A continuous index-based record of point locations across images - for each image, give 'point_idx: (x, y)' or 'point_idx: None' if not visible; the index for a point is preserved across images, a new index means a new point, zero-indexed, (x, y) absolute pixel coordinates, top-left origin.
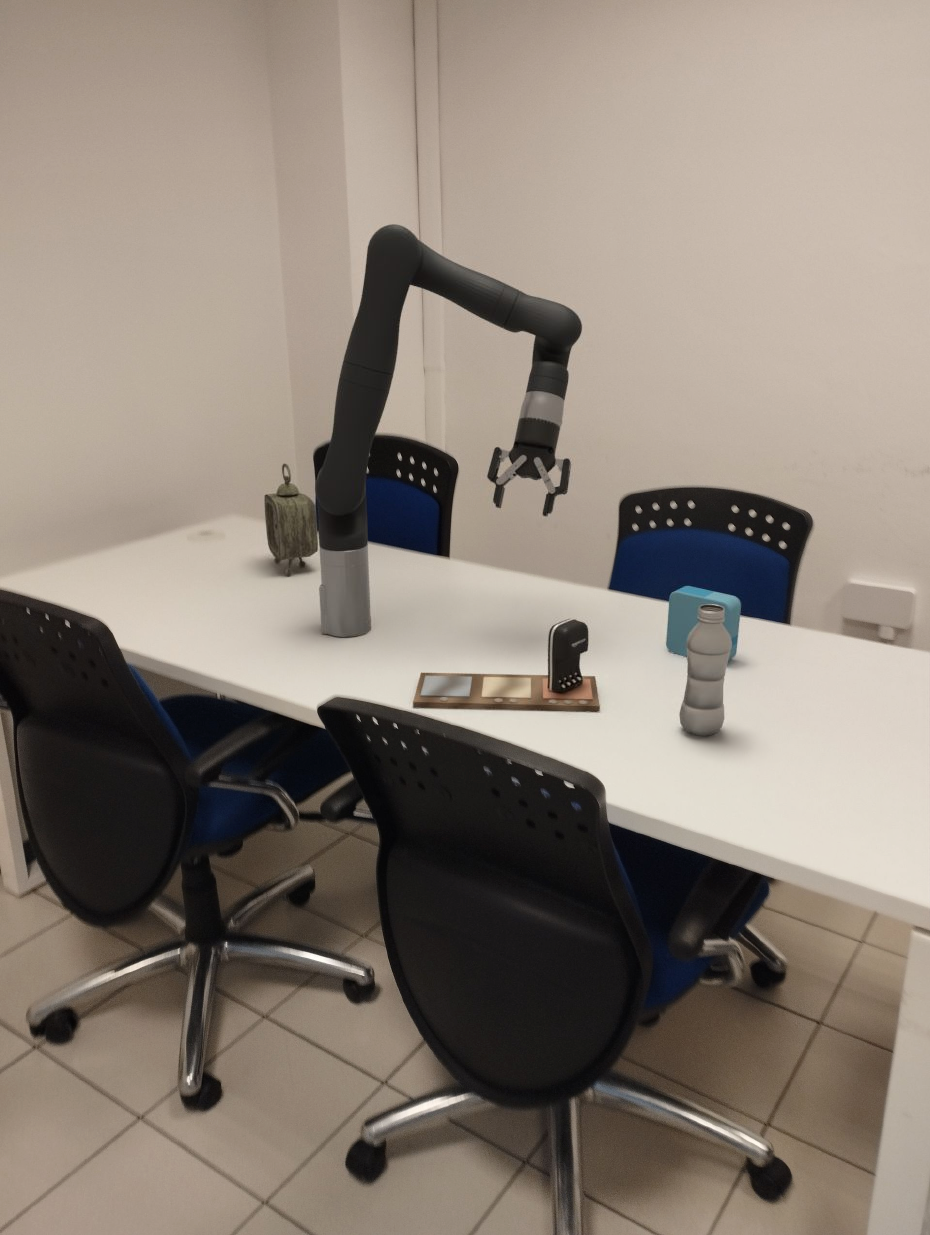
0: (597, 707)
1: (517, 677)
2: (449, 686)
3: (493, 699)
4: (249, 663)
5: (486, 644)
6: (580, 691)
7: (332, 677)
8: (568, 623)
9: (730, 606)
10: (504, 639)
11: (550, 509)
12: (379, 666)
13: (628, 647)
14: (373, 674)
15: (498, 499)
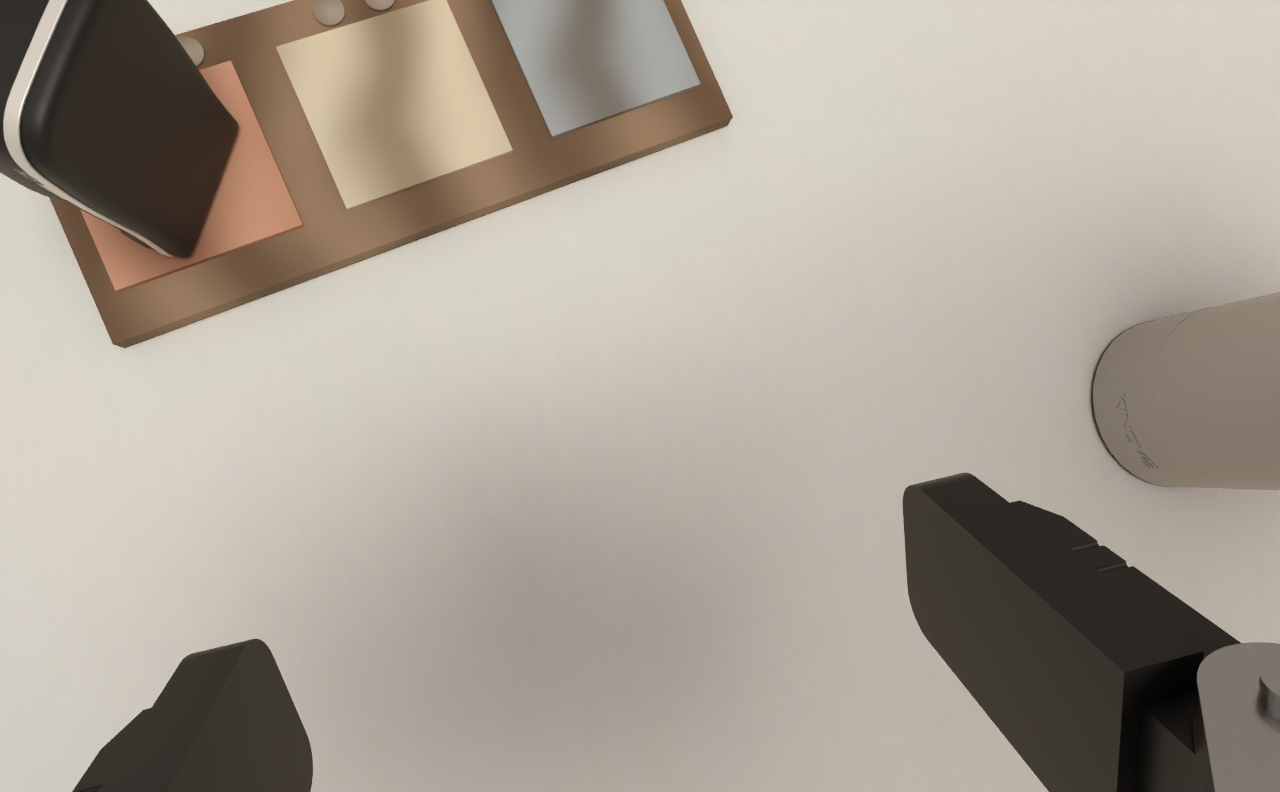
0: None
1: (403, 209)
2: (583, 31)
3: (401, 3)
4: (1222, 29)
5: (672, 506)
6: None
7: (965, 27)
8: (13, 27)
9: None
10: (633, 589)
11: (116, 747)
12: (893, 158)
13: None
14: (873, 94)
15: (983, 515)
